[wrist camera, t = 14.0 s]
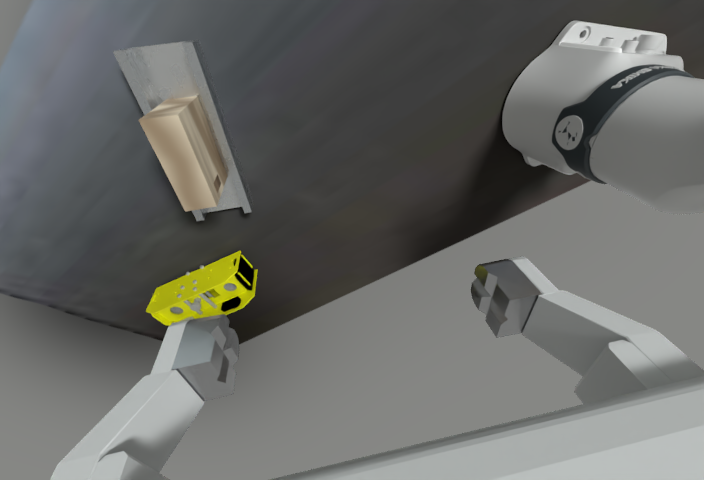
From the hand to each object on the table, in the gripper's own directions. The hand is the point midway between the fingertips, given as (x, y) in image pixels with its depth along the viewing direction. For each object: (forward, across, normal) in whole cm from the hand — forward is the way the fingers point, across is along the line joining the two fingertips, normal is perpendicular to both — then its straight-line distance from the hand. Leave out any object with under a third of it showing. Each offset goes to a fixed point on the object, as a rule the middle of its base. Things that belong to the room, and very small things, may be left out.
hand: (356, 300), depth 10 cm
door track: (+34, +14, +4) cm, 37 cm away
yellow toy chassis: (+35, +21, +27) cm, 49 cm away
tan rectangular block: (+33, +14, +4) cm, 36 cm away
